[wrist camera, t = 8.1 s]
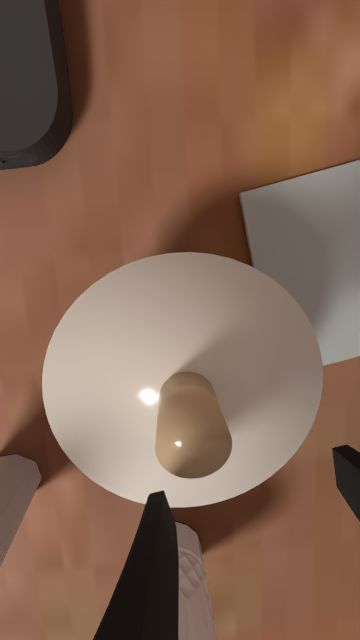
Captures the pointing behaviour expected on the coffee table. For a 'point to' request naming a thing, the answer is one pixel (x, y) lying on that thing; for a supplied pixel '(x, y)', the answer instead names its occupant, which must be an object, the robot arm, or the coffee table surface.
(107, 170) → the coffee table surface
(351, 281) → the mat
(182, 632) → the white cup
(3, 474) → the low poly bottle
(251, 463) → the lid
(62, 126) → the media streaming box
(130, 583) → the robot arm
